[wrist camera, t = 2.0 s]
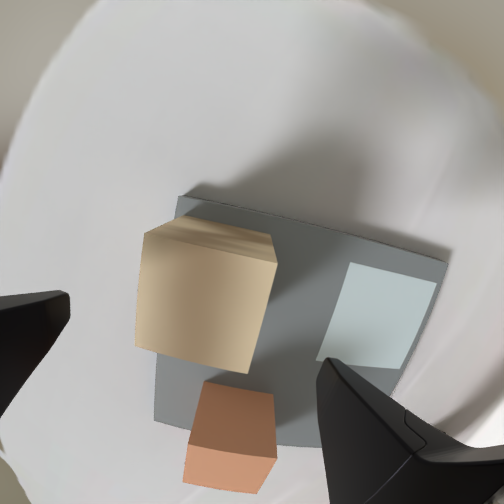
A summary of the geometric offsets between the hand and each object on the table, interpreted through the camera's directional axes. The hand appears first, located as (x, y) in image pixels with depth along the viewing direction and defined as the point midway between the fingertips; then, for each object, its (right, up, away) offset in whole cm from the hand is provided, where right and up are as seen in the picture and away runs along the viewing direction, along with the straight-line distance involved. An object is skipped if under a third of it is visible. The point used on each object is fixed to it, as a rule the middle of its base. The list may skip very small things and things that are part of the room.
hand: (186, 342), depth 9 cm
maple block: (0, +2, +8) cm, 8 cm away
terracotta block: (+1, -9, +11) cm, 14 cm away
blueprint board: (+5, -4, +10) cm, 12 cm away
